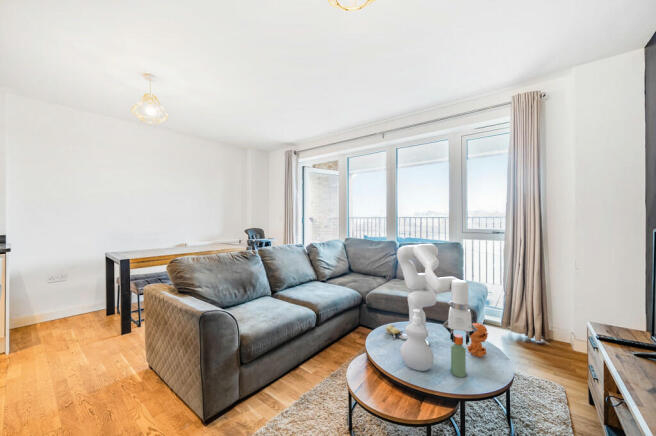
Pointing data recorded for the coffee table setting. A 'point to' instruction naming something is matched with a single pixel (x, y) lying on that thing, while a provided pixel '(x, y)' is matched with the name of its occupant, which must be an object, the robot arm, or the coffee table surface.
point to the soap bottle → (416, 346)
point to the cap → (458, 339)
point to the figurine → (394, 331)
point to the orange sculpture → (478, 340)
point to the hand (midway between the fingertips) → (459, 342)
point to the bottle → (458, 360)
